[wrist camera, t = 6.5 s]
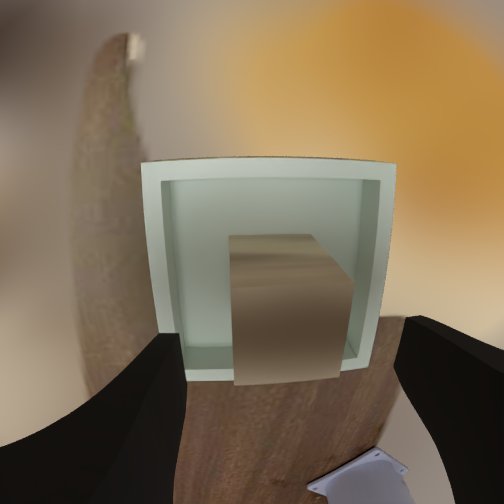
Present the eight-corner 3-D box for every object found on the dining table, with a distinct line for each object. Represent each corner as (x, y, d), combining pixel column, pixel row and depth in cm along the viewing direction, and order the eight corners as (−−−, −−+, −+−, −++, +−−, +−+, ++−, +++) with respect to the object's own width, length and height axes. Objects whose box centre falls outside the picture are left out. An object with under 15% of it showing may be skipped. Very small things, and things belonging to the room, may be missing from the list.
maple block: (305, 305, 17) (339, 376, 11) (231, 308, 17) (234, 385, 11) (310, 233, 16) (354, 282, 10) (228, 235, 15) (230, 287, 10)
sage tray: (353, 343, 19) (367, 367, 16) (174, 353, 18) (168, 380, 16) (373, 160, 15) (396, 163, 13) (154, 160, 14) (140, 163, 12)
